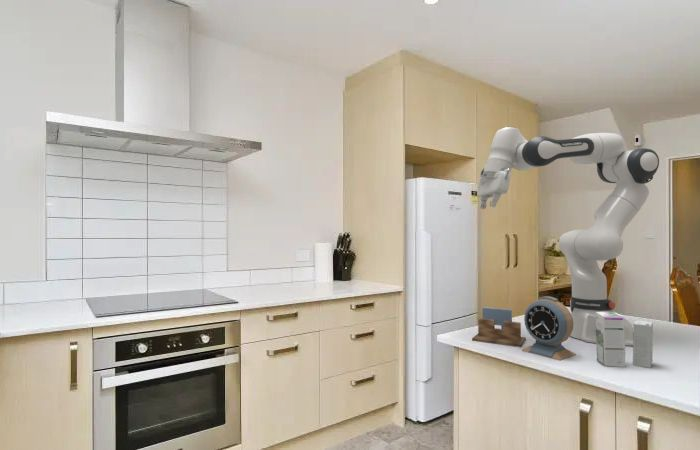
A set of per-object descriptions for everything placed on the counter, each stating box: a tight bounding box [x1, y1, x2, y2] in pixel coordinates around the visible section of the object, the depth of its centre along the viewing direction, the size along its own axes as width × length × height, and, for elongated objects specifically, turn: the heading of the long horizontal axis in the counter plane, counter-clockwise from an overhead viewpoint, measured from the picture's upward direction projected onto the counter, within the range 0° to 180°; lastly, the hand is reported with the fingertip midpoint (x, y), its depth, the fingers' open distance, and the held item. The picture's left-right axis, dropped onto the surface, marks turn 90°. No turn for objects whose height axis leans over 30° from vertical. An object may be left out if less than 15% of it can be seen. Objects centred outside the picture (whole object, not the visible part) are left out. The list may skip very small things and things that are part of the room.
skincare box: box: [632, 319, 654, 369], centre depth 118 cm, size 6×4×12 cm
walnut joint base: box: [471, 317, 527, 348], centre depth 145 cm, size 16×11×7 cm
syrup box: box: [595, 311, 627, 368], centre depth 119 cm, size 6×6×14 cm
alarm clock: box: [521, 295, 577, 361], centre depth 130 cm, size 14×10×18 cm
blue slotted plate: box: [481, 306, 513, 329], centre depth 156 cm, size 10×2×9 cm, turn 58°
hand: (487, 207), depth 146 cm, fingers open, 8 cm apart
